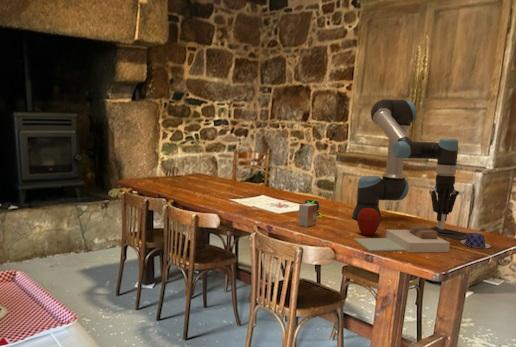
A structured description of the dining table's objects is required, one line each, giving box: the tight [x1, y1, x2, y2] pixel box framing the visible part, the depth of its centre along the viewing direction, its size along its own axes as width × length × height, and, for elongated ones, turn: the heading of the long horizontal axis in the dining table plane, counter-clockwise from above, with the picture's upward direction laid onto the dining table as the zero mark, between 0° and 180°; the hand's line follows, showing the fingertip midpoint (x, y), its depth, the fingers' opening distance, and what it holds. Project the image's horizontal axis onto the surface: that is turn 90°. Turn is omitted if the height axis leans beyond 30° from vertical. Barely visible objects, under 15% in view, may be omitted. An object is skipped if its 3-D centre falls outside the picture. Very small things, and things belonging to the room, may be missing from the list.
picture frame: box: [429, 225, 470, 241], centre depth 193 cm, size 13×2×18 cm
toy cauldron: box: [302, 198, 323, 219], centre depth 223 cm, size 15×15×11 cm
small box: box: [297, 203, 318, 228], centre depth 200 cm, size 8×6×10 cm
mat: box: [353, 237, 407, 252], centre depth 170 cm, size 16×16×1 cm
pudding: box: [459, 232, 492, 249], centre depth 177 cm, size 12×12×5 cm
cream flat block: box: [385, 229, 451, 253], centre depth 173 cm, size 20×18×4 cm
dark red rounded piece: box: [357, 206, 381, 236], centre depth 186 cm, size 10×10×14 cm
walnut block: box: [409, 225, 438, 239], centre depth 173 cm, size 10×7×3 cm
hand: (440, 228), depth 174 cm, fingers closed
